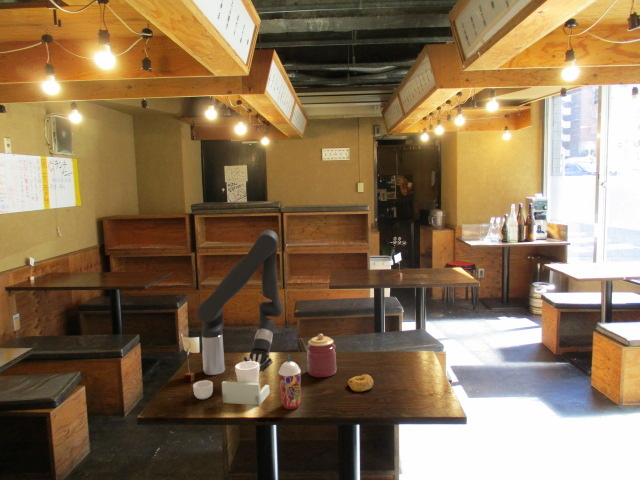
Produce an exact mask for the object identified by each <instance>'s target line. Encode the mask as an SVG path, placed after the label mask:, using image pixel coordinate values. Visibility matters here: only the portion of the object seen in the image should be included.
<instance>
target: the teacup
mask: <svg viewBox="0 0 640 480" xmlns="http://www.w3.org/2000/svg"><path fill="white" fill-rule="evenodd" d="M213 387H214V385H213V381H211V380H207V379H205V380H199V381H196V382H194V383H193V385H192V388H193V394H194V396H195V398H196V399H199V400H206V399H208V398H209V397H211V396H212V394H213V390H214V388H213ZM209 399H210V398H209Z"/></svg>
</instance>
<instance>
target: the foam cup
mask: <svg viewBox="0 0 640 480" xmlns="http://www.w3.org/2000/svg"><path fill="white" fill-rule="evenodd" d="M234 370H235V374H236V379H237V382H244V383H259V378H260V372H259V370H260V367H259V363H258V362H254V361H251V360H250V361H247V362H245V361H241V362H239V363H236V364H235V366H234Z"/></svg>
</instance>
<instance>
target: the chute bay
mask: <svg viewBox="0 0 640 480" xmlns="http://www.w3.org/2000/svg"><path fill="white" fill-rule="evenodd" d="M270 393H271V391H270V384H265V385H264V386H263V387H262V388H261V383H259V382H258V383H244V382H238V381H227V380H226V381H225V380H223V381H222V382H221V394H222V403H223V404H225V403H226V404H235V405H236V404H238V405H248V406H249V405H250V406H251V405H252V406H260V405H261V404H262V403H263V402H264V401H265V400H266V398H267V397H268V396H269V395H270Z"/></svg>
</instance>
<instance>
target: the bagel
mask: <svg viewBox="0 0 640 480" xmlns="http://www.w3.org/2000/svg"><path fill="white" fill-rule="evenodd" d="M347 385H348V386H349V387H350V389H351V390H352V391H354V392H365V391H369V390H371V389H372V388H373V386H374V379H373V378H372V376H370V375H369V374H362V375H356V376H354V377H351V378H350V379H348V380H347Z"/></svg>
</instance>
